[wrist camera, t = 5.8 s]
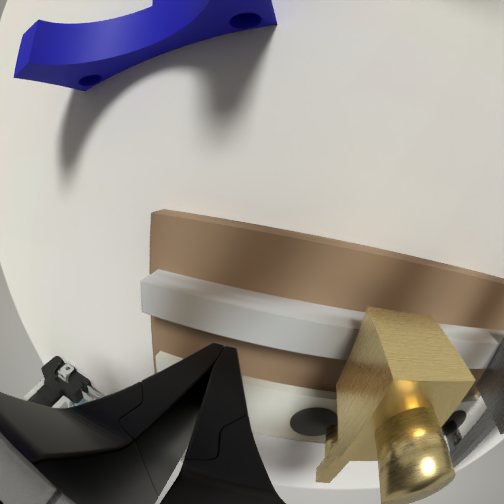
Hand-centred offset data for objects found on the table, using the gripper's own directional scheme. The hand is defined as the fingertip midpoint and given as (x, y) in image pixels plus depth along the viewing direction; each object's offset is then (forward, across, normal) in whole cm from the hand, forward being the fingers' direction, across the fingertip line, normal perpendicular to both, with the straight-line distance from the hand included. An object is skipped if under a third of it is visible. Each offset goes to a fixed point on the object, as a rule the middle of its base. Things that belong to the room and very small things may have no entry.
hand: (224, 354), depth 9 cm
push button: (+5, +15, +13) cm, 21 cm away
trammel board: (+5, -6, +3) cm, 8 cm away
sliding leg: (+3, -6, +3) cm, 7 cm away
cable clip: (+5, +7, -14) cm, 17 cm away
